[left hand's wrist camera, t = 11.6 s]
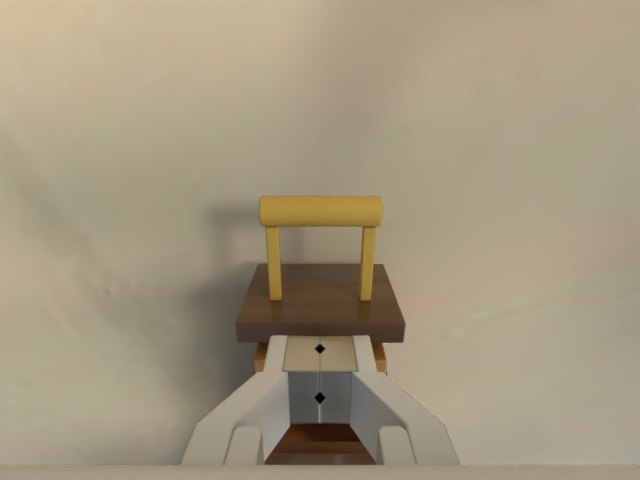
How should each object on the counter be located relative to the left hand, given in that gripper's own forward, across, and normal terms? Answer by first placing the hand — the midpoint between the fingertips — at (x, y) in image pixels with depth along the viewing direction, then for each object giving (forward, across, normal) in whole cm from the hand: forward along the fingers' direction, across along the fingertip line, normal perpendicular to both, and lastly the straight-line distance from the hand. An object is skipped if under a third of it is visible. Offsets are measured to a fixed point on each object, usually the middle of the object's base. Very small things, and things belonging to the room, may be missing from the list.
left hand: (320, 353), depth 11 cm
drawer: (+12, 0, -6) cm, 14 cm away
